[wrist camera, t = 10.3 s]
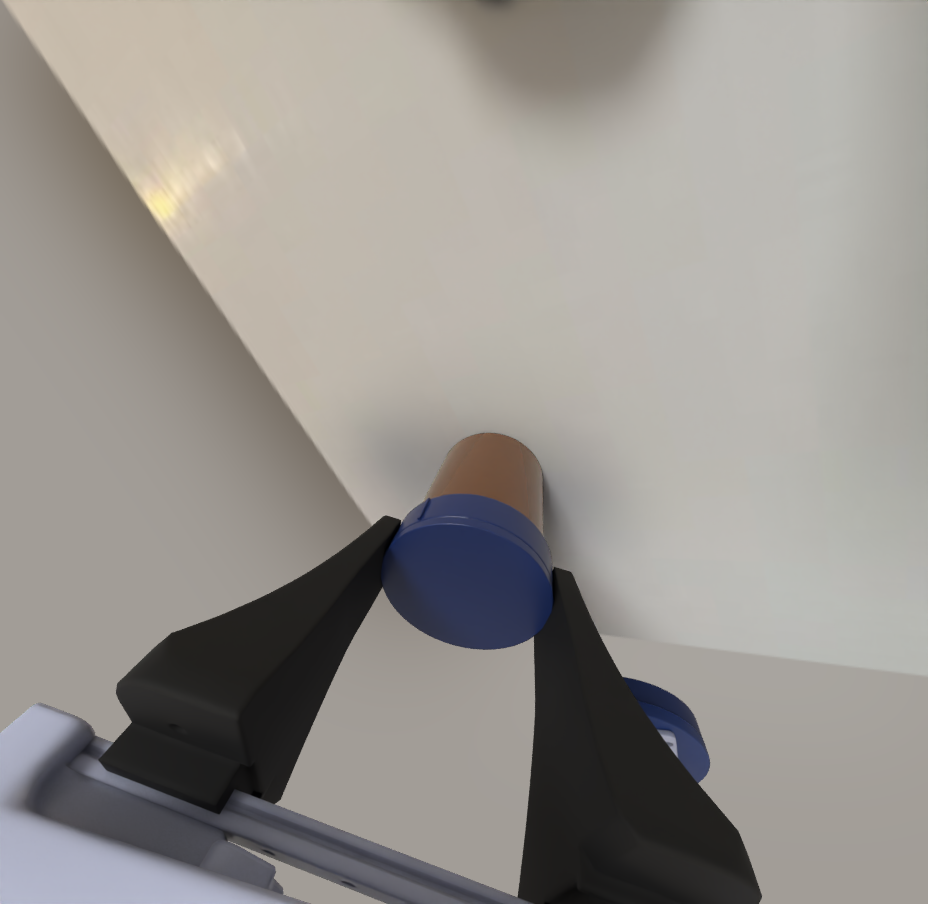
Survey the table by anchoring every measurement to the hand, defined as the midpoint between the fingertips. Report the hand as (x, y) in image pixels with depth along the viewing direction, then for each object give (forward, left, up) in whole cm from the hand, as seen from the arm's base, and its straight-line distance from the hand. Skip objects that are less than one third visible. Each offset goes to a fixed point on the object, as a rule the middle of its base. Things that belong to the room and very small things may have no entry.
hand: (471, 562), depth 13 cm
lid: (0, 0, +1) cm, 1 cm away
